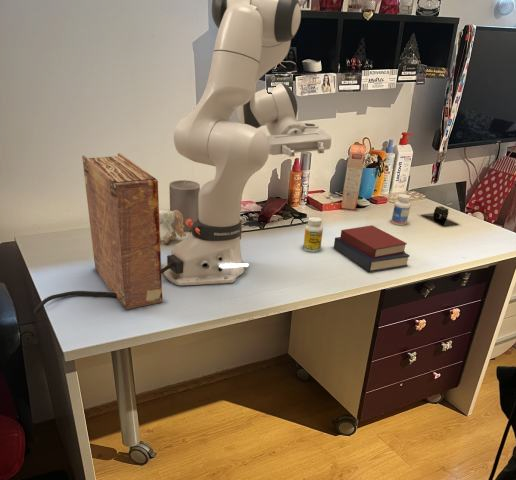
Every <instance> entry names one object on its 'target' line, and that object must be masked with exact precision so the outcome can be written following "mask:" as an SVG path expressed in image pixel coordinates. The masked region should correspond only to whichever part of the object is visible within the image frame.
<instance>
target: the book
mask: <svg viewBox="0 0 516 480" xmlns="http://www.w3.org/2000/svg"><path fill="white" fill-rule="evenodd" d="M81 157H82V165H83V167H82V168H83V176H84V184H85V191H86V192H85V193H86V202H87V210H88V217H89V228H90V236H91V244H92V253H93V261H94V269H95V272H97V274H98V275H99V276H100V278H101V279H102V280H103V282H104V284H106V286H107V287H108V288H109V290H110V292H111V293H116V294H117V297H116V298H117V300H118V301H119V302H120V305H122V307H123V308H124V309H125V310H131V309H136V308H140V307H146V306H151V305H154V304H159V303H160V304H161V303H163V284H162V283H163V280H162V278H163V277H162V274H161V269H162V255H161V254H162V253H161V231H160V228H161V226H160V225H159V211H160V203H159V181H158V179H157V178H156V177H154V176H153V175H151V174H150V173H149V172H147V171H146V170H145V169H144V168H142V167H140V166H139V165H137V164H136V163H135V162H133V161H132V160H130V159H129V158H128V157H126V156H124V154H122V153H121V152H118V153H117V155H112V156H99V157H87V156H86V155H82V156H81Z"/></svg>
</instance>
